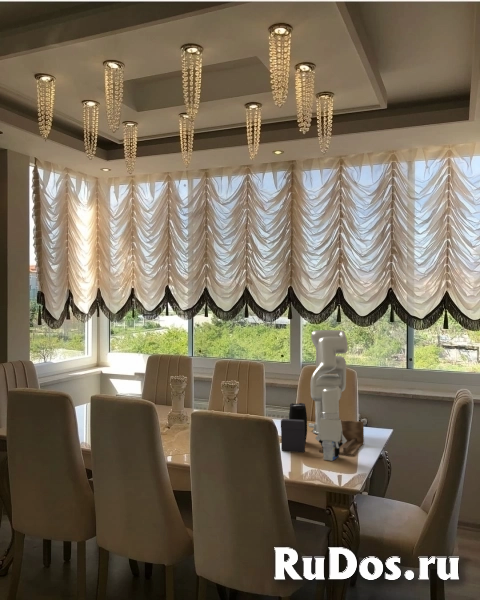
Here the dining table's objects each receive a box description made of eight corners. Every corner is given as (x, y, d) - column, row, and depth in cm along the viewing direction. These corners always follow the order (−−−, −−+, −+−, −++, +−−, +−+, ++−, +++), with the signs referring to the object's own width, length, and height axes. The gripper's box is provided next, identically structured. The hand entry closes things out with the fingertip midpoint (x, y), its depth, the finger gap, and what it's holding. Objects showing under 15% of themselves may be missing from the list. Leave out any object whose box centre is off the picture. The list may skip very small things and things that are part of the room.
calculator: (305, 450, 256) (305, 419, 256) (303, 453, 252) (303, 421, 252) (283, 448, 259) (282, 418, 259) (281, 451, 255) (280, 420, 255)
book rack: (319, 452, 253) (318, 428, 253) (332, 440, 272) (332, 419, 272) (352, 456, 246) (352, 431, 246) (363, 444, 265) (363, 421, 265)
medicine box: (332, 461, 238) (332, 442, 238) (323, 459, 241) (323, 440, 241) (339, 456, 245) (338, 438, 245) (329, 455, 247) (329, 436, 247)
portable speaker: (304, 445, 264) (303, 406, 264) (286, 443, 268) (286, 405, 268) (309, 441, 272) (308, 403, 272) (292, 439, 276) (291, 401, 276)
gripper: (310, 415, 243) (310, 455, 243) (346, 419, 236) (347, 460, 236) (315, 412, 250) (316, 451, 250) (351, 415, 242) (351, 455, 242)
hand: (331, 455), depth 243 cm, fingers closed on medicine box, 4 cm apart
